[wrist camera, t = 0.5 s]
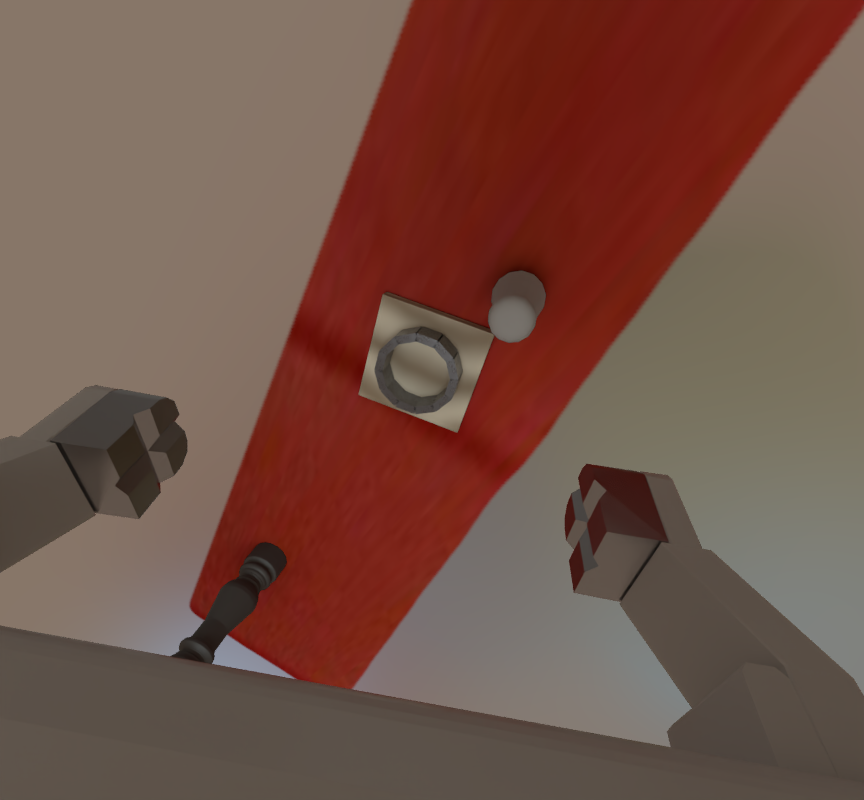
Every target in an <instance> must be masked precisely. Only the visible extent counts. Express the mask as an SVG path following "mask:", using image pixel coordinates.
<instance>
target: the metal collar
mask: <svg viewBox="0 0 864 800" xmlns="http://www.w3.org/2000/svg"><path fill="white" fill-rule="evenodd" d="M442 335H443V333H440V332H438V331H435V330H432V329H430V328H427V327H424V326H423V327H422V326H420V327H414V328H409V329H403V330H401V331H400V332H399V333H398V334H397V335H396V336H395V337H393V338H392V339H391V340H390V341H389V342H388V343H387V344H386V345H385V346H384V347H382V348H381V349H380V351H379V353H378V357H377V361H376V365H375V369H374V370H375V371H374V372H375V375H376V379H377V382H378V386H379V389H380V390H381V392H382V393H383V395H384V396H385V397H386V398H387V399H388V400H389V401H390V402H391V403H392V404H393V405H394V406H395V405H396V407H397V408H400V409H402V410H405V411H408V412H410V413H413V414H422V413H431V412H435V411H438V410H439V409H440V408H442V407H443V406H444V405H445V404H447V403H448V402H449V401H451V399H452V398H453V396H454V394H455V392H456V389H457V387H458V384H459V381H460V378H461V375H462V373H463V372H462V371H463V369H462V364H461V360H460V355H459V351H458V349H457V348H456V347H455V346H454V345H453V344H452V343H451V341H450V340H449V339H448V338H447V337H446V336H445V335H443V336H442ZM411 342H419V343H421V344H424V345H427V346H429V347H432V348H434V349H435V350H436V351H437V352H438V354H439V355H440V356H441V357H442V358H443V359H444V360H445V361H446V364H447V369H448V373H449V377H450V380H449V383H448V386H447V388H445V389H444V390H443V391H442V392H440V393H439V394H438V395H433V396H425V397H420V396H417V395H415V394H412V393H409V392H407V391H405V390H404V389H403V388H402V387H401V385H400V384H399V383H398V382H397V381H396V380H395V379H394V376H393V372H392V368H391V365H390V362H391V358H392V354H393V350H394V348H395V347H396V346H398V345H399V344H405V343H411Z"/></svg>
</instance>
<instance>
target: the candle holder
mask: <svg viewBox="0 0 864 800" xmlns="http://www.w3.org/2000/svg"><path fill="white" fill-rule="evenodd" d="M286 563H287V561H286V556H285V555H284V553H283V551H282V550H280V549H279V548H278V547H277V546H275V545H273V544H271V543H260V544H258V545H257V546H256V547H255V548H254V549H253V551H252V552H251V553H250V554H249V555H248V557H247V558H246V559H245V561H244V565H242V566H241V568H240V571H239V574H240V575H239V577H237V578H236V579H234V580H232V581H229V582H228V583H227V584H225V585H224V586H223V587H222V588H221V589H220V591H219V593H218V595H217V597H216V599H215V601H214V603H213V605H212V607H211V609H210V611H209V613H208V615H207V617H206V619H205V621H204V622H203V623H202V624H201V626H200V627H199V628H198V630H197V631H196V632H195V633H194V634H193V636H191V637H189V638H185V639H184V640H183V641H181V643H180V646H179V650H180V651H179V652H177V653H176V654H174V655H172V656H170V657H176V658H181V659H187V660H193V661H198V662H204V663H209V664H212V662H213V660H214V657H215V656H214V652H215V650H216V649H217V647H218V646H219V645H220V643H221V642H222V641H223V639H224V638H225V636H226V635H227V634H228V633H229V632H230V631H232V630H233V629H234V628H235V627H236V626H237V625H238V624H239V623H240V622H242V621H243V620H244V619H245V618H246V617H247V616H248V615H249V614H251V613H252V612H253V611H254V609H255V607H256V605H257V602H258V595H259V592H260V591H261V590H265V589H266V588H268V587H269V586H270V583H272V582H274V581H275V580H276V578H277V577H278V576H279V574H280V573H281V571H282V570H283V569H284V567H285V565H286Z"/></svg>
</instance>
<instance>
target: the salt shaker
mask: <svg viewBox="0 0 864 800" xmlns="http://www.w3.org/2000/svg"><path fill="white" fill-rule="evenodd" d="M545 298H546V293H545V290H544V287H543V284H542V283H541V282H540V280H539V279H538V278H537V277H536V276H535V275H534V274H531V273H528V272H525V271H515V272H509V273H508V274H506V275H505V276H503V277H502V278H500V279H499V280H498V282H497V283H496V285H495V286H494V288H493V290H492V300H491V302H492V307H491V308H490V310H489V316H488V323H489V326H490V329H491V332H492V333H493V334H494V335H495V336H496V337H497V338H498V339H500V340H502V341H505V342H508V343H511V342H519V341H521V340H523V339H524V338H526V337H528V336H529V335H530V333H531V332H532V330H533V329H534V327H535V324H536V318H537V317H538V315H539V314H540V312H541V311H542V309H543V308H544V303H545Z"/></svg>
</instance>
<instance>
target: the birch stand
mask: <svg viewBox="0 0 864 800" xmlns="http://www.w3.org/2000/svg"><path fill="white" fill-rule="evenodd" d="M420 326H422V327H423V326H424V327H427V328H430V329H432V330H435V331H438V332H440V333H443V335H445V336H446V337H447V338H448V339H449V340H450V341H451V343H452V344H453V345H454V346H455V347H456V348H457V349H458V351H459V355H460V360H461V364H462V369H463V371H462V372H463V373H462V375H461V378H460V381H459V384H458V387H457V389H456V392H455V394H454V396H453V398H452V399H451V401H449V402H448V403H447V404H445V405H444V406H443V407H442V408H440V409H439V410H438V411H435V412H431V413H422V414H413V413H410V412H408V411H405V410H402V409H400V408H397V407H396V405H395V406H394V405H393V404H392V403H391V402H390V401H389V400H388V399H387V398H386V397H385V396H384V395H383V393H382V392H381V390H380V389H379V386H378V382H377V379H376V375H375V372H374V371H375V370H374V369H375V365H376V361H377V357H378V353H379V351H380V349H381V348H382V347H384V346H385V345H386V344H387V343H388V342H389V341H390V340H391V339H392V338H393V337H395V336H396V335H397V334H398V333H399V332H400V331H401V330H403V329H409V328H414V327H420ZM443 335H442V336H443ZM493 337H494V334H493V333H492V332H491V329H488V328H486V327H483V326H480V325H477V324H475V323H472V322H469V321H466V320H463V319H461V318H458V317H455V316H452V315H450V314H447V313H444V312H441V311H439V310H436V309H433V308H430V307H427V306H425V305H422V304H419V303H416V302H414V301H411V300H408V299H405V298H403V297H400V296H397V295H394V294H392V293H389V292H386V293H384V294H383V296H382V300H381V304H380V308H379V312H378V316H377V321H376V325H375V329H374V333H373V337H372V341H371V345H370V349H369V354H368V358H367V362H366V366H365V370H364V374H363V378H362V383H361V387H360V391H359V395H361V396H363V397H366V398H368V399H371V400H374V401H376V402H379V403H381V404H384V405H387V406H389V407H392V408H395V409H397V410H400V411H402V412H405V413H408V414H410V415H413V416H415V417H418V418H421V419H423V420H426V421H428V422H431V423H434V424H436V425H439V426H441V427H444V428H447V429H449V430H452V431H454V432H458V430H459V427H460V424H461V422H462V419H463V416H464V414H465V411H466V409H467V406H468V403H469V401H470V398H471V395H472V393H473V390H474V387H475V385H476V382H477V379H478V377H479V374H480V372H481V369H482V366H483V364H484V361H485V358H486V356H487V353H488V350H489V348H490V345H491V342H492V340H493ZM390 365H391V368H392V372H393V376H394V379H395V380H396V381H397V382H398V383H399V384H400V385H401V387H402V388H403V389H404V390H405V391H407V392H409V393H412V394H415V395H417V396H420V397H425V396H433V395H438V394H439V393H440V392H442V391H443V390H444V389H445V388H447V386H448V383H449V380H450V377H449V373H448V369H447V364H446V361H445V360H444V359H443V358H442V357H441V356H440V355H439V354H438V352H437V351H436V350H435V349H434V348H432V347H429V346H427V345H424V344H421V343H419V342H411V343H405V344H399V345H398V346H396V347H395V348H394V350H393V354H392V358H391V362H390Z"/></svg>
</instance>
